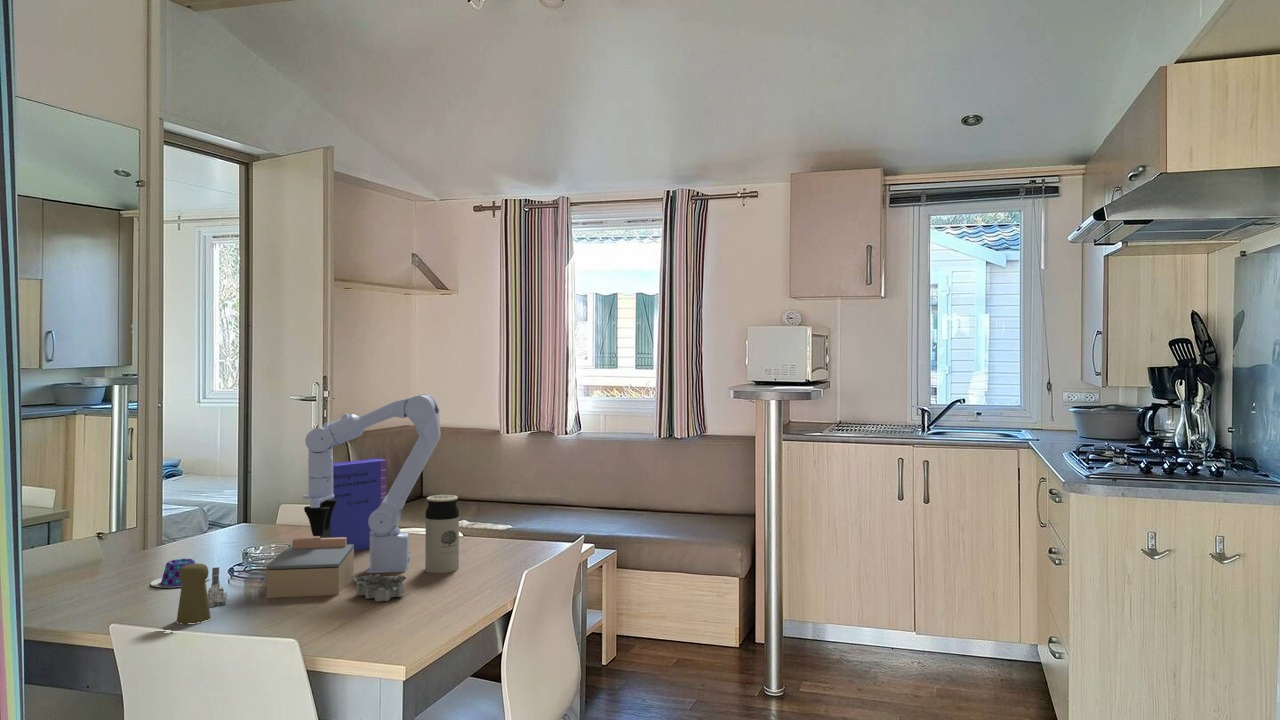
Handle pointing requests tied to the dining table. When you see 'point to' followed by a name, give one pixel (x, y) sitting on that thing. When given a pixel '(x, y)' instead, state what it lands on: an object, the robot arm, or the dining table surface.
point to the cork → (193, 594)
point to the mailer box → (309, 580)
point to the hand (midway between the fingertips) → (321, 532)
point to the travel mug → (442, 534)
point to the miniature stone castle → (216, 590)
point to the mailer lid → (313, 553)
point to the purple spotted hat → (173, 573)
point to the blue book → (356, 499)
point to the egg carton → (380, 586)
